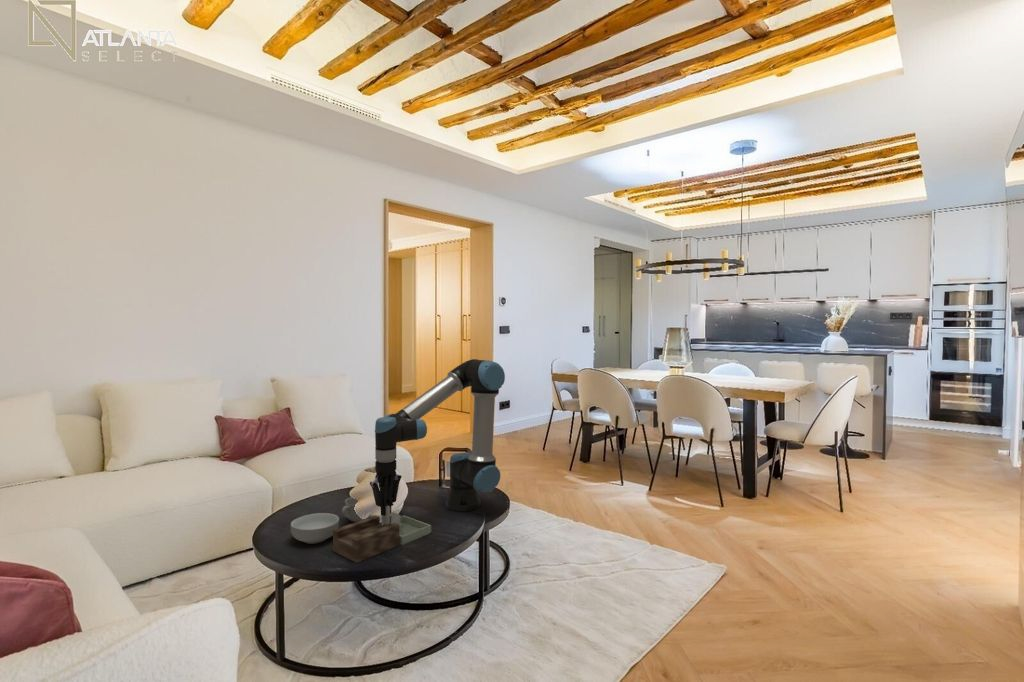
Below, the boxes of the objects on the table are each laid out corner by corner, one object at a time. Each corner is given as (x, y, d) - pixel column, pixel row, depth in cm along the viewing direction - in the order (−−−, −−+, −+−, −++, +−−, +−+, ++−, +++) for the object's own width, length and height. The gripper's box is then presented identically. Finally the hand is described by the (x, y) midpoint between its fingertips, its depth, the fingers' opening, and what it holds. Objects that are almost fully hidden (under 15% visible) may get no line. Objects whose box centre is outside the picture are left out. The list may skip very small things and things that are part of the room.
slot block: (375, 534, 196) (375, 515, 195) (399, 544, 187) (399, 524, 187) (333, 551, 182) (332, 530, 181) (356, 562, 173) (356, 540, 173)
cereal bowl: (348, 534, 196) (348, 516, 196) (317, 552, 181) (316, 532, 180) (313, 527, 202) (313, 509, 202) (280, 544, 187) (280, 525, 187)
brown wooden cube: (392, 523, 196) (393, 512, 196) (399, 525, 193) (400, 514, 193) (383, 525, 192) (385, 514, 193) (390, 527, 190) (391, 516, 190)
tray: (404, 522, 208) (404, 515, 208) (431, 532, 198) (431, 525, 198) (375, 533, 197) (375, 525, 197) (402, 545, 187) (402, 537, 187)
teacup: (362, 512, 218) (362, 493, 218) (377, 518, 212) (377, 499, 211) (332, 522, 208) (332, 502, 207) (347, 529, 201) (347, 508, 200)
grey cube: (388, 535, 194) (396, 531, 197) (395, 537, 192) (403, 534, 195) (388, 524, 194) (396, 521, 197) (395, 527, 192) (403, 524, 195)
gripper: (393, 454, 197) (393, 515, 198) (364, 461, 187) (365, 526, 188) (406, 458, 192) (406, 520, 193) (377, 465, 182) (377, 531, 183)
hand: (386, 523), depth 191 cm, fingers closed
